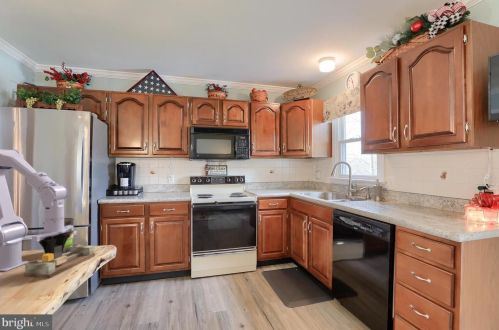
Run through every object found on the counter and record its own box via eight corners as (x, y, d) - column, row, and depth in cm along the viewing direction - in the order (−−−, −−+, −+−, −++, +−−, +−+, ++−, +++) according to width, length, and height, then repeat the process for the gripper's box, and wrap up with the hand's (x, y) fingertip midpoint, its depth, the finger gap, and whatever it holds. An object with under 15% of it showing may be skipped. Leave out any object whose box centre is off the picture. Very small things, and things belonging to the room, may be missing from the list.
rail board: (24, 276, 83) (24, 262, 83) (73, 254, 103) (73, 243, 103) (49, 278, 82) (49, 264, 82) (95, 255, 102) (95, 244, 102)
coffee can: (79, 249, 109) (79, 218, 109) (57, 258, 99) (57, 223, 99) (60, 247, 111) (60, 217, 111) (36, 256, 101) (36, 222, 101)
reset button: (42, 261, 82) (42, 255, 82) (47, 258, 84) (47, 253, 84) (48, 261, 82) (48, 255, 82) (53, 259, 84) (53, 253, 84)
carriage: (42, 264, 87) (42, 247, 87) (52, 260, 91) (52, 244, 91) (56, 265, 87) (56, 248, 87) (66, 261, 91) (66, 245, 91)
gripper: (44, 223, 81) (45, 264, 81) (80, 214, 96) (80, 249, 96) (26, 223, 82) (26, 263, 82) (64, 214, 96) (64, 248, 97)
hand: (54, 255), depth 89 cm, fingers closed on carriage, 3 cm apart
